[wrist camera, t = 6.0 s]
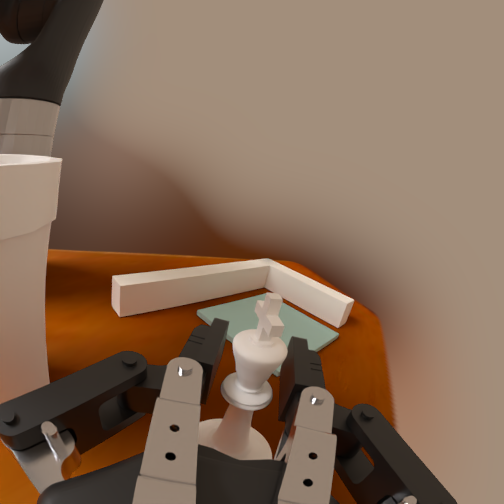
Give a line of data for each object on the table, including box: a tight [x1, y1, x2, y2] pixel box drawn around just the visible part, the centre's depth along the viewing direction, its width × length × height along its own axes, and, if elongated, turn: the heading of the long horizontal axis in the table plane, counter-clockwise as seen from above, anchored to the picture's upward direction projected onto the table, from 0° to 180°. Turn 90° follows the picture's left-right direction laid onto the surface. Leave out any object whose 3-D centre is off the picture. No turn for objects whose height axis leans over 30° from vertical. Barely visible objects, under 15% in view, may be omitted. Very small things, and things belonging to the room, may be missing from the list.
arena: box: [112, 258, 354, 377], centre depth 26 cm, size 14×21×3 cm, turn 136°
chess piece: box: [198, 293, 288, 460], centre depth 11 cm, size 5×5×10 cm
